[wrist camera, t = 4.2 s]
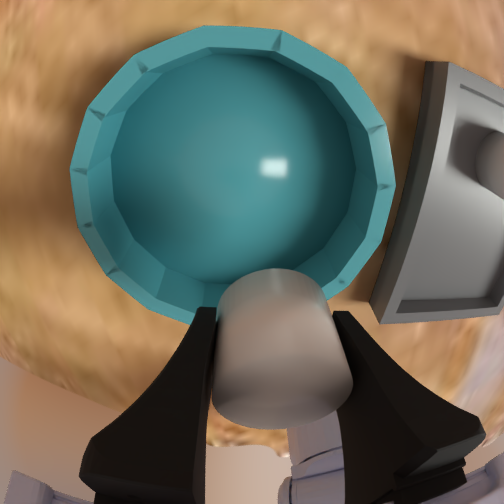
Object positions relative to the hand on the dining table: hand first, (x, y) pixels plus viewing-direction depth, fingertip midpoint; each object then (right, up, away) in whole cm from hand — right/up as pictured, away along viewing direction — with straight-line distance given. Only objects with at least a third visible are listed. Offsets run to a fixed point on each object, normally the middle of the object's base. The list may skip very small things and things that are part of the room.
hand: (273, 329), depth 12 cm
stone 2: (+16, +9, +4) cm, 19 cm away
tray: (+16, +6, +7) cm, 19 cm away
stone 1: (0, 0, +1) cm, 1 cm away
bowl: (-2, +7, +6) cm, 10 cm away
